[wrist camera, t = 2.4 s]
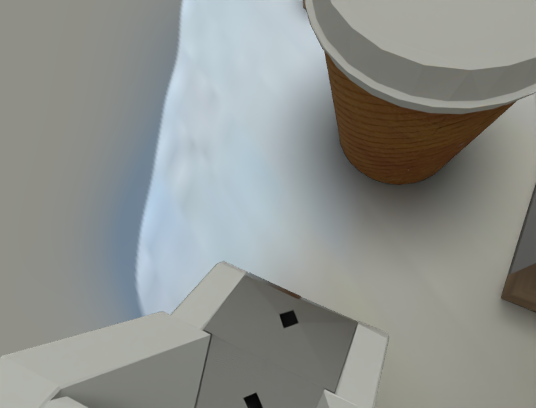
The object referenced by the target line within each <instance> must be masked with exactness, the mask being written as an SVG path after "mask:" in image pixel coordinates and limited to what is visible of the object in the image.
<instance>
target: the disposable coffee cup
mask: <svg viewBox="0 0 536 408" xmlns="http://www.w3.org/2000/svg"><path fill="white" fill-rule="evenodd" d="M305 4H306V9H307V13H308V17H309V21H310V25H311V27H312V29H313V31H314V33H315V35H316V37H317V39H318V41H319V43H320V45H321V47H322V49H323V50H324V52H325V57H326V63H327V69H328V74H329V80H330V85H331V91H332V97H333V103H334V108H335V113H336V119H337V125H338V130H339V138H340V144H341V146H342V149H343V151H344V153H345V155H346V156H347V158H348V160H349V161H350V162H351V163H352V164H353V165H354V166H355V167H356V168H357V169H358V170H359V171H360V172H362V173H364V174H365V175H367V176H368V177H370V178H372V179H375V180H377V181H380V182H384V183H388V184H398V185H401V184H409V183H415V182H419V181H422V180H425V179H426V178H428V177H430V176H432V175H434V174H435V173H437V172H438V171H439V170H440V169H441V168H442V167H443V166H444V165H445V164H447V163H448V162H449V161H450V160H451V159H452V158H453V157H454V156H455V155H457V154H458V153H459V152H460V151H461V150H462V149H463V148H464V147H466V146H467V145H468V144H469V143H470V142H471V141H472V140H474V139H475V138H476V137H477V136H478V135H479V134H480V133H481V132H483V131H484V130H485V129H486V128H487V127H488V126H489V125H490V124H491V123H493V122H494V121H495V120H496V119H497V118H498V117H499V116H500V115H502V114H503V113H504V112H505V111H506V110H507V109H508V108H509V107H511V106H512V105H513V104H514V103H515V102H516V101H517V100H519V99H522V98H524V97H526V96H529V95H531V94H533V93H536V0H305Z"/></svg>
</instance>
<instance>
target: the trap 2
mask: <svg viewBox="0 0 536 408" xmlns="http://www.w3.org/2000/svg"><path fill="white" fill-rule="evenodd" d="M535 263H536V185H535V189H534V192H533V195H532V199H531V202H530V205H529V208H528V212H527V215H526V218H525V221H524V225H523V228H522V231H521V234H520V238H519V241H518V244H517V247H516V251H515V254H514V257H513V260H512V264H511V267H510V270H509V274H508V275H510V274H512V273H514V272H516V271H519V270H521V269H523V268H526V267H528V266H530V265H533V264H535Z"/></svg>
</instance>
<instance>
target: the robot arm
mask: <svg viewBox="0 0 536 408" xmlns="http://www.w3.org/2000/svg"><path fill="white" fill-rule="evenodd" d="M388 341H389V335H388V333H387V332H384V331H382V330H380V329H377V328H375V327H372V326H370V325H367V324H365V323H363V322H360V321H358V322H357V321H356V320H353V319H351V318H349V317H347V316H344V315H342V314H340V313H337V312H335V311H333V310H330V309H328V308H326V307H323V306H321V305H319V304H317V303H314V302H312V301H310V300H307V299H305V298H303V297H301V296H299V295H297V294H295V293H292V292H290V291H288V290H286V289H284V288H282V287H280V286H277V285H275V284H273V283H271V282H269V281H267V280H265V279H262V278H260V277H258V276H256V275H254V274H252V273H250V272H249V273H248V272H247V271H244V270H242V269H240V268H238V267H236V266H234V265H231V264H229V263H227V262H225V261H222V262H220V263H217V264H216V265H215V266H214V267H213V268H212V269H211V271H210V272H209V273H208V274H207V275H206V276H205V277H204V278H203V279H202V280H201V282H200V283H199V284H198V285H197V286H196V287H195V288H194V289H193V290H192V291H191V293H190V294H189V295H188V296H187V297H186V298H185V299H184V300H183V301H182V303H181V304H180V305H179V306H178V307H177V308H176V309H175V310H174V311H173V312H172V314H171V315H169V314H167V313H165V312H163V311H161V312H158V313H154V314H151V315H147V316H143V317H140V318H136V319H133V320H129V321H126V322H122V323H119V324H115V325H111V326H108V327H104V328H100V329H97V330H93V331H90V332H86V333H83V334H79V335H76V336H72V337H68V338H65V339H61V340H57V341H54V342H50V343H47V344H43V345H39V346H36V347H32V348H29V349H25V350H21V351H18V352H15V353H11V354H7V355H3V356H1V357H0V408H374V406H375V401H376V397H377V392H378V387H379V383H380V378H381V373H382V369H383V364H384V360H385V355H386V350H387V346H388Z"/></svg>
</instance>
